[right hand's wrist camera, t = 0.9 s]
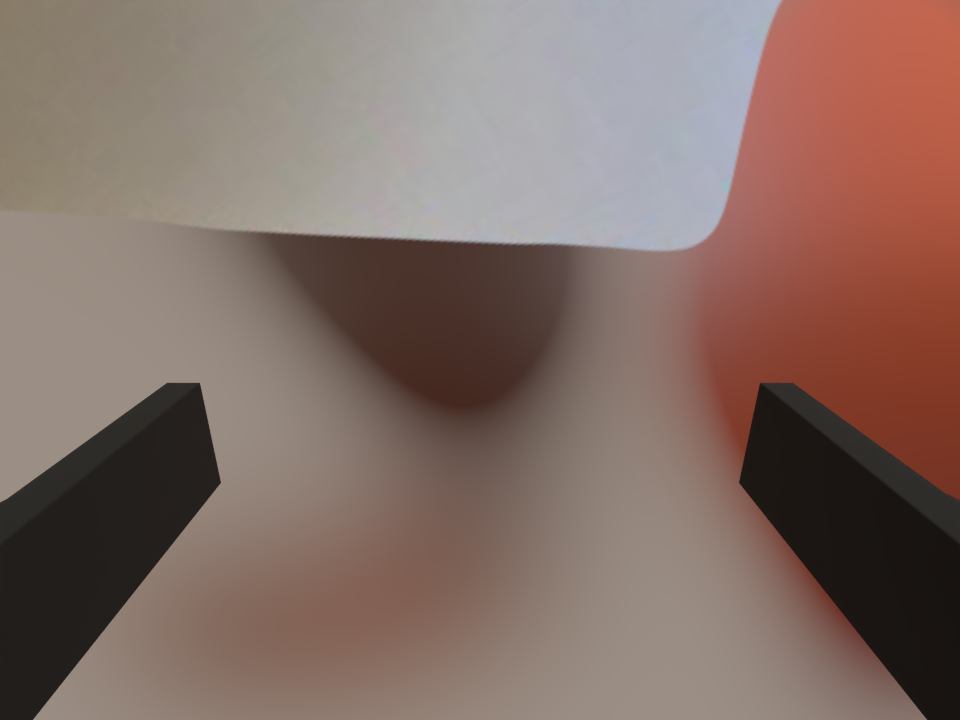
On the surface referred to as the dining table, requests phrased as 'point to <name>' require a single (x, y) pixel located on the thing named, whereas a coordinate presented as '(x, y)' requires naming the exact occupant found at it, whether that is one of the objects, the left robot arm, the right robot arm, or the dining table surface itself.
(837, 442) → the right robot arm
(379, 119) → the dining table surface
